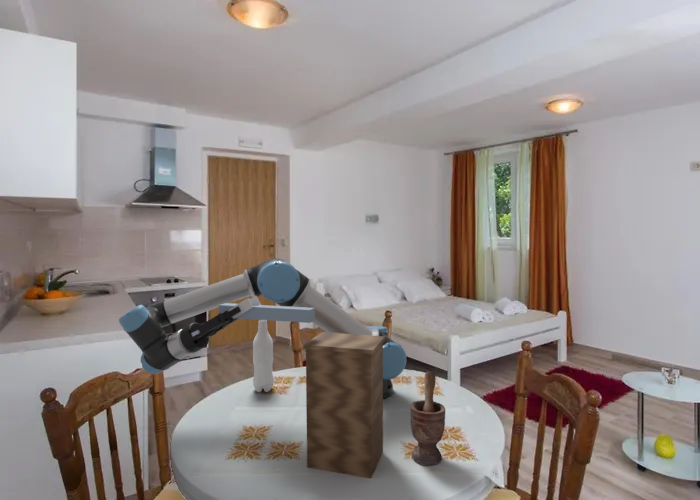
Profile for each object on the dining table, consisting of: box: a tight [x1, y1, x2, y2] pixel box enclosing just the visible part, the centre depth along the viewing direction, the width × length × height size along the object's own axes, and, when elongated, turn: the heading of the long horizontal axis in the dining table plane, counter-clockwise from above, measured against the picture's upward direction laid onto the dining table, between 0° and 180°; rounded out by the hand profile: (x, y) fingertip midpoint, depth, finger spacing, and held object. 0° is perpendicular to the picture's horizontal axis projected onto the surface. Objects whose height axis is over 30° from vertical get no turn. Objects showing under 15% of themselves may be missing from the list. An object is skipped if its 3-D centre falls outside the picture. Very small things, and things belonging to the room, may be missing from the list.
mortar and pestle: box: [409, 371, 446, 466], centre depth 109 cm, size 12×9×20 cm
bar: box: [218, 302, 315, 324], centre depth 111 cm, size 26×3×3 cm, turn 73°
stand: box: [302, 331, 385, 479], centre depth 106 cm, size 17×13×30 cm
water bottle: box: [252, 320, 275, 393], centre depth 153 cm, size 7×7×25 cm
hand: (254, 301), depth 112 cm, fingers closed on bar, 3 cm apart
